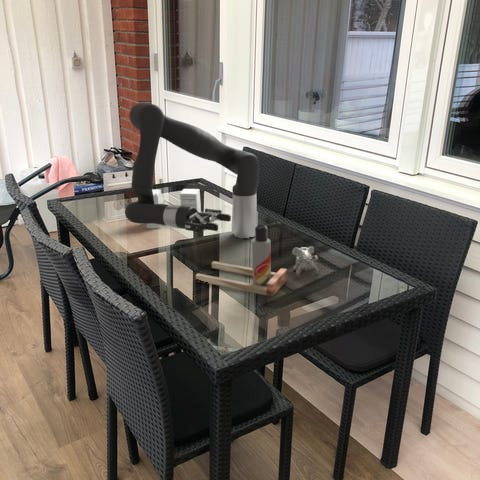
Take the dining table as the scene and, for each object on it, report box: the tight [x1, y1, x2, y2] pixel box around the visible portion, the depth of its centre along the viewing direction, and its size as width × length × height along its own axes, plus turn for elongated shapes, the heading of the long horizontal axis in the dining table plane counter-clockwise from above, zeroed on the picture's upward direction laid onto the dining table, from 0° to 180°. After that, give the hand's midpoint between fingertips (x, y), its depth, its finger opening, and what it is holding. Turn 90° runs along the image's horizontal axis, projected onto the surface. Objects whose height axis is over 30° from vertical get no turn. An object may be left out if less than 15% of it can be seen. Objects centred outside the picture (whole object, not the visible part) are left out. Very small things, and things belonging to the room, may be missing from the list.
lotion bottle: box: [251, 224, 272, 287], centre depth 157 cm, size 6×6×20 cm
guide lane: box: [195, 260, 288, 297], centre depth 163 cm, size 12×27×4 cm, turn 64°
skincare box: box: [145, 188, 163, 229], centre depth 212 cm, size 8×6×15 cm
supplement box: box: [179, 188, 202, 212], centre depth 218 cm, size 7×7×13 cm
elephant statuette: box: [291, 246, 320, 276], centre depth 169 cm, size 9×12×8 cm
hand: (224, 222), depth 159 cm, fingers open, 8 cm apart
